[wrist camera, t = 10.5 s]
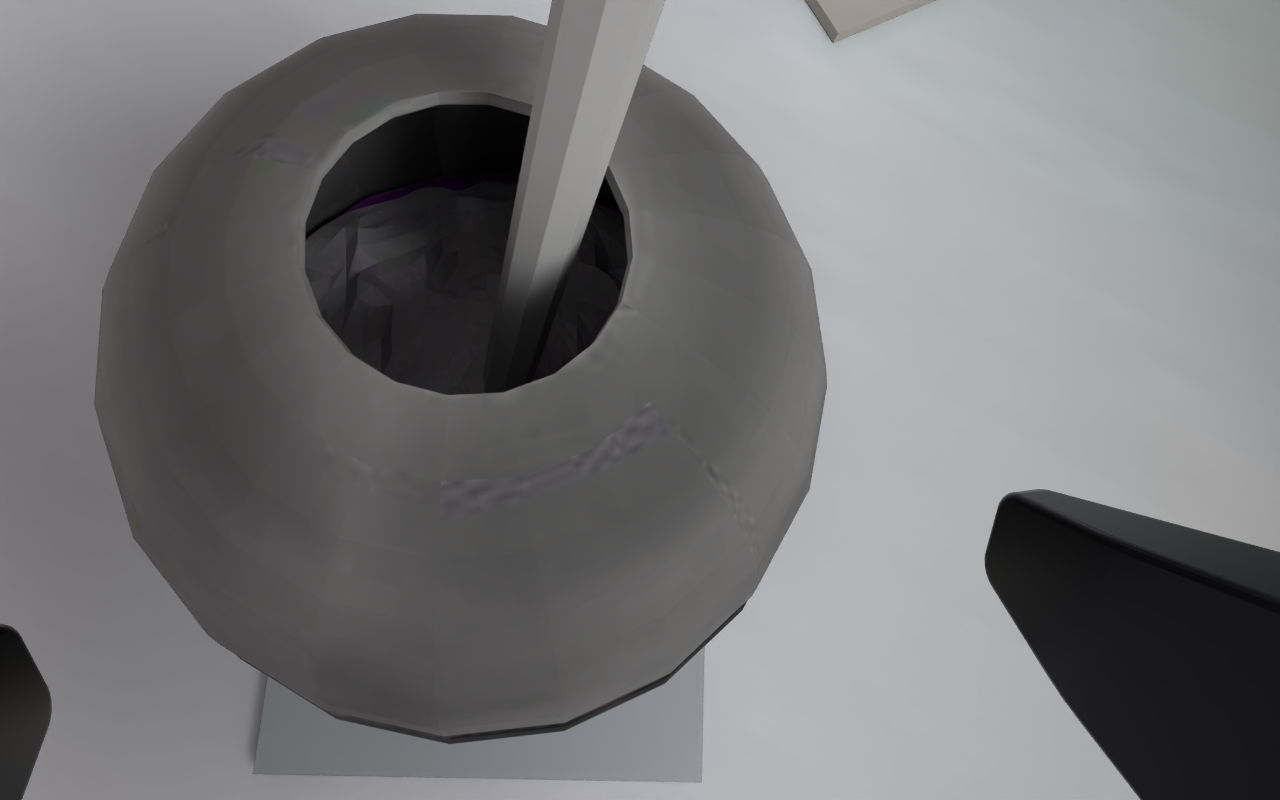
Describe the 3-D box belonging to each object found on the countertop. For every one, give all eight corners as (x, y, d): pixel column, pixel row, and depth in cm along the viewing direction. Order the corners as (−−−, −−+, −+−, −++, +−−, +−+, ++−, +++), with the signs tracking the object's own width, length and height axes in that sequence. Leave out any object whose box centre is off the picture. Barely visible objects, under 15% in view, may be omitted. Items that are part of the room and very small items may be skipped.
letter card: (698, 779, 20) (701, 782, 19) (258, 770, 18) (252, 774, 18) (708, 307, 23) (712, 301, 22) (332, 272, 22) (329, 266, 21)
